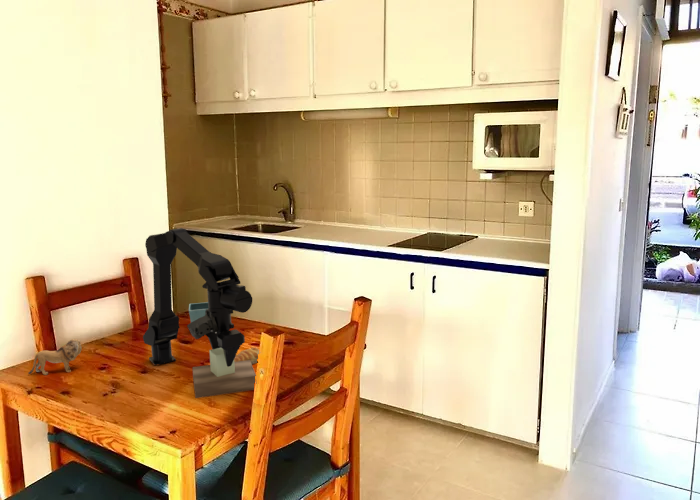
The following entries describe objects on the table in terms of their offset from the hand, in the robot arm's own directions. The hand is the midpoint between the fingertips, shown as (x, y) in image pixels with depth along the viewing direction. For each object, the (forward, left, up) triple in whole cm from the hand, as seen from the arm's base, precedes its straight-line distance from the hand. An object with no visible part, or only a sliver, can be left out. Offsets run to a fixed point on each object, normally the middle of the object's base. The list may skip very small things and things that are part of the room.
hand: (222, 360), depth 160 cm
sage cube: (0, 0, -3) cm, 3 cm away
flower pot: (-48, +11, -7) cm, 50 cm away
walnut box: (0, 0, -8) cm, 8 cm away
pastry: (-12, +12, -7) cm, 18 cm away
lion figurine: (-38, -37, -7) cm, 53 cm away
